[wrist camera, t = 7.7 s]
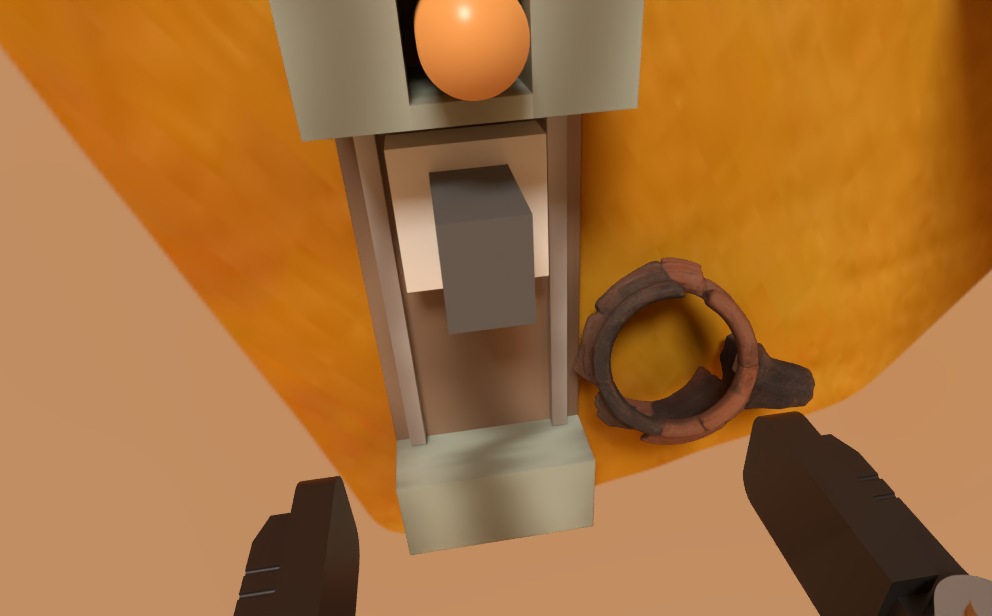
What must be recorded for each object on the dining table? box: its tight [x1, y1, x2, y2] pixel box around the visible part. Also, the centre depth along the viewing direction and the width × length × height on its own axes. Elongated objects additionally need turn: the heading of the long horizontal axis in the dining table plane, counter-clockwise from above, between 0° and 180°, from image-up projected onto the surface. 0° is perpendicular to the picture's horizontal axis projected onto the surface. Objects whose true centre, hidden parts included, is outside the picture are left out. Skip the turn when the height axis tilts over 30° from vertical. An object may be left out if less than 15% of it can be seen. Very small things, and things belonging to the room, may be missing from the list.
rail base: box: [269, 0, 644, 555], centre depth 26 cm, size 10×28×8 cm, turn 4°
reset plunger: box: [412, 0, 530, 101], centre depth 17 cm, size 3×3×6 cm
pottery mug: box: [573, 258, 815, 445], centre depth 31 cm, size 12×10×8 cm
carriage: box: [384, 120, 549, 335], centre depth 22 cm, size 6×6×7 cm
